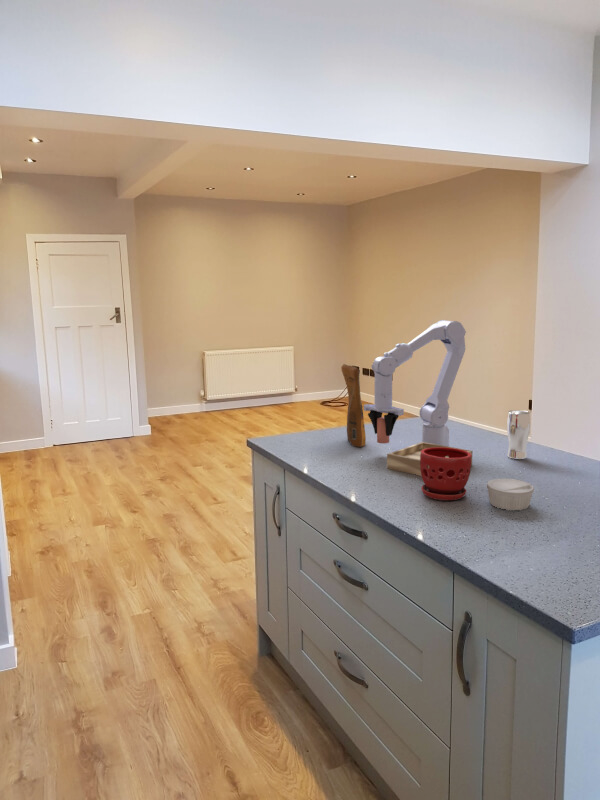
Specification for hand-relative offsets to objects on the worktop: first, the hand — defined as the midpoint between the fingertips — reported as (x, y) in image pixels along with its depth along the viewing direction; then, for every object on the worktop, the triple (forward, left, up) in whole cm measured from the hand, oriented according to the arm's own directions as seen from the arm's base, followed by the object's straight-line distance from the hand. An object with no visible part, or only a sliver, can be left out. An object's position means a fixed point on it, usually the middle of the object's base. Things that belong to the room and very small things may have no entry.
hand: (383, 434), depth 202 cm
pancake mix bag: (-8, -18, -7) cm, 21 cm away
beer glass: (-25, +35, -7) cm, 44 cm away
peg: (0, 0, -3) cm, 3 cm away
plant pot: (+23, +36, -7) cm, 43 cm away
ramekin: (+19, +52, -7) cm, 56 cm away
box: (+2, +19, -7) cm, 20 cm away
